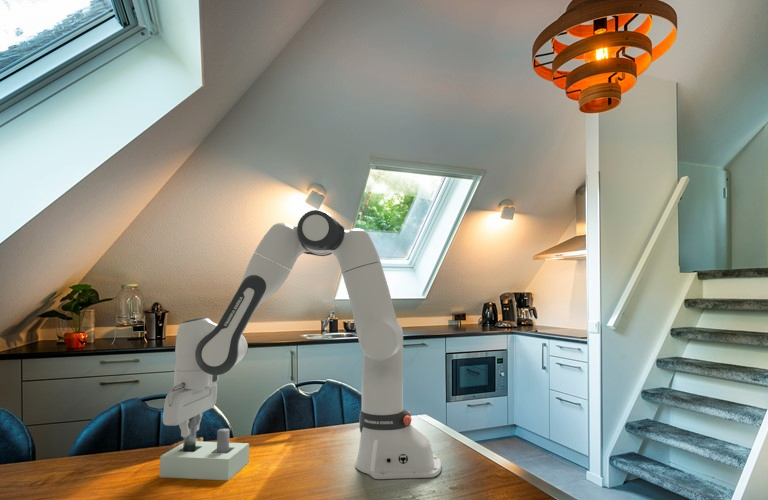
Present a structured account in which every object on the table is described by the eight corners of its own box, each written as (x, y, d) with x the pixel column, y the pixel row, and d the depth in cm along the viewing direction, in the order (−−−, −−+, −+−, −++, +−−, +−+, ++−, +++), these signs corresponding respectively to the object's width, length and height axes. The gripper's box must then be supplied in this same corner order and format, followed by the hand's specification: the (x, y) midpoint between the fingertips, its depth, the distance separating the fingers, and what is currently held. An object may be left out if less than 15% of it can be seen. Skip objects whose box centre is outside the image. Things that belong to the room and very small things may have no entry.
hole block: (248, 462, 124) (249, 424, 125) (228, 480, 113) (229, 438, 113) (186, 459, 127) (187, 422, 128) (159, 477, 115) (161, 435, 116)
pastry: (166, 457, 129) (167, 443, 129) (170, 450, 135) (170, 436, 136) (203, 454, 132) (203, 440, 132) (204, 447, 138) (204, 433, 138)
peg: (197, 450, 122) (199, 411, 123) (191, 454, 119) (193, 414, 120) (187, 449, 122) (188, 410, 123) (180, 453, 119) (182, 413, 120)
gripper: (181, 388, 112) (179, 447, 110) (221, 373, 132) (220, 423, 131) (157, 387, 112) (154, 446, 111) (200, 372, 133) (199, 422, 131)
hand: (190, 433), depth 121 cm, fingers closed on peg, 3 cm apart
